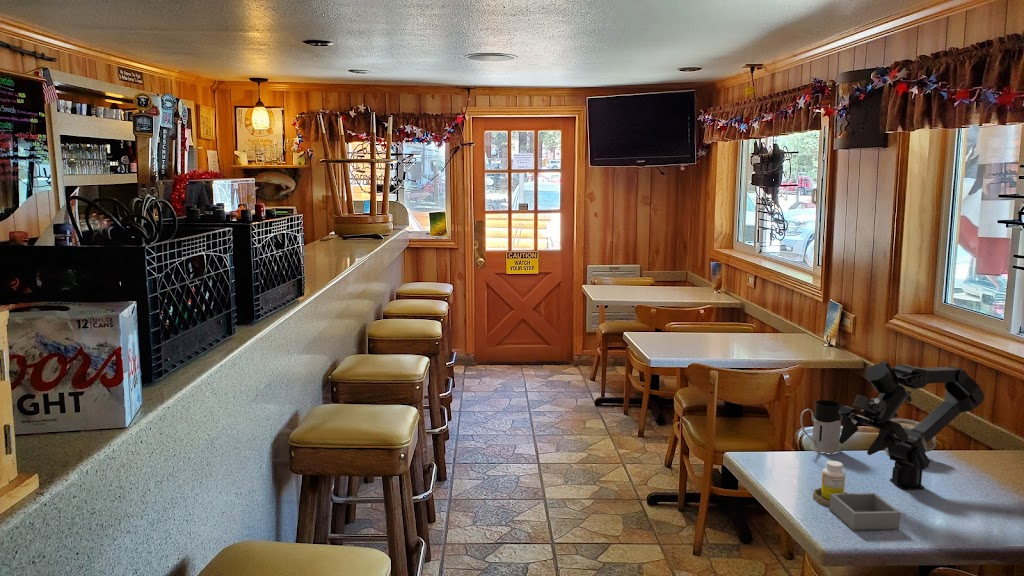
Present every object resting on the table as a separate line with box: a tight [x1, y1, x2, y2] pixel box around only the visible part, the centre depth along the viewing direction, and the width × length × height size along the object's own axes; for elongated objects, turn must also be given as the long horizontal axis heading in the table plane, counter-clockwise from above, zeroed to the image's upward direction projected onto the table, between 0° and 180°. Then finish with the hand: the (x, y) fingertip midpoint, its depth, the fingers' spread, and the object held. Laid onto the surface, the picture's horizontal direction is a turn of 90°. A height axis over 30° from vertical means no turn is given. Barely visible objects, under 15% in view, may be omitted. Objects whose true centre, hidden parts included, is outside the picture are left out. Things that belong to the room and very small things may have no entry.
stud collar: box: [812, 487, 848, 508], centre depth 199 cm, size 9×9×2 cm
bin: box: [829, 492, 902, 532], centre depth 187 cm, size 12×12×4 cm
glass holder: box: [799, 399, 843, 454], centre depth 236 cm, size 9×14×15 cm, turn 107°
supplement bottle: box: [820, 460, 846, 500], centre depth 199 cm, size 6×6×10 cm
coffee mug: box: [884, 418, 937, 456], centre depth 232 cm, size 13×10×10 cm
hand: (854, 448), depth 200 cm, fingers open, 9 cm apart
